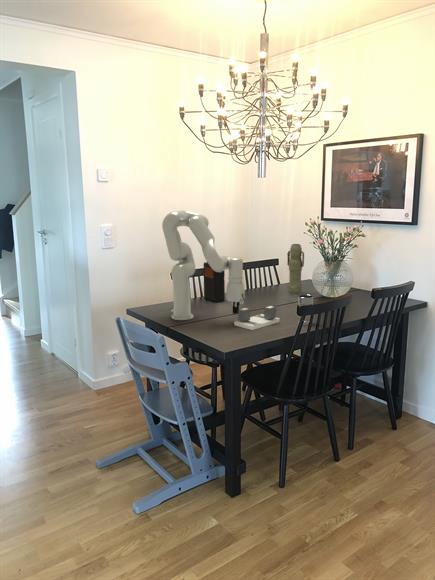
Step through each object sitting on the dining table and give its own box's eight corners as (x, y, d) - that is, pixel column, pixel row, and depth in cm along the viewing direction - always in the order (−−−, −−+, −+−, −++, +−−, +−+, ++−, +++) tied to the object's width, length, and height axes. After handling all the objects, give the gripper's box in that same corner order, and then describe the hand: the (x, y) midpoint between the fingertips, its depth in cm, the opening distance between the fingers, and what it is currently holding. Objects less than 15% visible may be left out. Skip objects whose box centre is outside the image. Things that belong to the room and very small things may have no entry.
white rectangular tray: (234, 325, 249) (234, 321, 248) (261, 317, 263) (261, 313, 263) (252, 330, 239) (252, 326, 239) (279, 322, 254) (279, 318, 253)
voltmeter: (226, 301, 304) (226, 263, 299) (215, 303, 299) (215, 264, 294) (213, 297, 317) (212, 260, 311) (202, 298, 312) (201, 261, 307)
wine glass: (314, 324, 249) (315, 297, 246) (301, 325, 246) (302, 298, 243) (308, 320, 256) (308, 294, 253) (294, 321, 254) (295, 295, 251)
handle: (264, 318, 252) (264, 307, 251) (270, 316, 256) (270, 305, 254) (269, 319, 249) (269, 308, 248) (275, 317, 253) (275, 306, 252)
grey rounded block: (238, 320, 249) (238, 309, 247) (244, 318, 252) (244, 307, 251) (243, 321, 246) (243, 310, 245) (250, 320, 249) (250, 308, 248)
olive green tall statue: (288, 292, 328) (289, 243, 320) (305, 294, 322) (306, 243, 315) (284, 295, 320) (285, 244, 313) (300, 296, 314) (302, 245, 307)
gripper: (221, 279, 252) (221, 312, 256) (240, 283, 241) (240, 317, 245) (230, 277, 257) (231, 309, 261) (250, 281, 246) (250, 314, 250)
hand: (235, 313), depth 253 cm, fingers closed
